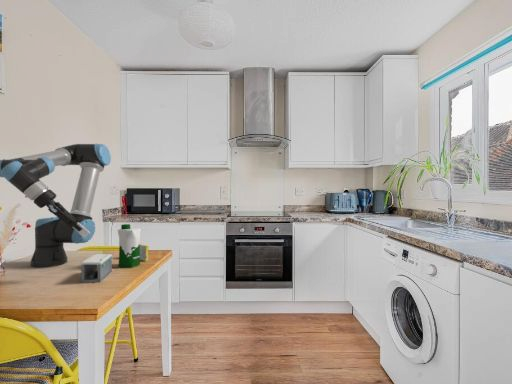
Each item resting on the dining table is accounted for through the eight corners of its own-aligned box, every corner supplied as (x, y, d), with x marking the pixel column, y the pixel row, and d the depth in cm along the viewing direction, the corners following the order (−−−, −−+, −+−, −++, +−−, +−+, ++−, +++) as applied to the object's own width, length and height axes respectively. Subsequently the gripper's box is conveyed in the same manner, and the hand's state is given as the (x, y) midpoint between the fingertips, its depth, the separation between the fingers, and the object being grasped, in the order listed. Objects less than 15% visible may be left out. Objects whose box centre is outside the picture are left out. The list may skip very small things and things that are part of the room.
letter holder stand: (94, 272, 135) (95, 256, 135) (112, 271, 137) (112, 256, 137) (81, 282, 119) (81, 265, 119) (101, 281, 121) (101, 264, 121)
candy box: (148, 261, 158) (149, 245, 158) (145, 261, 156) (145, 245, 156) (129, 257, 167) (129, 242, 167) (126, 258, 165) (126, 242, 165)
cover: (95, 255, 135) (95, 252, 135) (112, 256, 136) (112, 253, 137) (81, 264, 119) (81, 260, 119) (100, 264, 121) (100, 260, 121)
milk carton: (126, 263, 153) (127, 223, 153) (143, 264, 151) (143, 224, 151) (115, 267, 144) (115, 225, 144) (132, 268, 142) (132, 226, 142)
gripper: (37, 200, 125) (82, 239, 132) (27, 202, 113) (77, 244, 120) (52, 188, 127) (96, 227, 134) (44, 188, 115) (93, 230, 122)
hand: (87, 235), depth 127 cm, fingers closed
